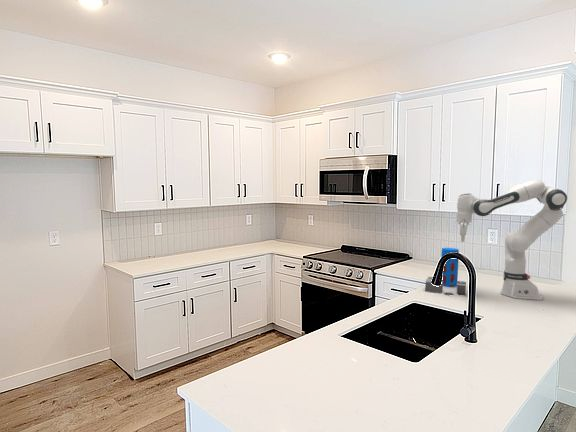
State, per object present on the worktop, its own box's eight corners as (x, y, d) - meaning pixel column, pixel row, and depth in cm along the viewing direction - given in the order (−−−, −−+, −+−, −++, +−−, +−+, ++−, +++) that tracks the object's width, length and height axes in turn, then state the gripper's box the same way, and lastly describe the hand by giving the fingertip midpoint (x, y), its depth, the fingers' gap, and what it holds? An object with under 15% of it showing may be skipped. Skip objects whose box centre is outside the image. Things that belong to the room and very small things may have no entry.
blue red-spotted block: (459, 287, 262) (461, 250, 260) (443, 287, 263) (445, 250, 261) (453, 283, 273) (454, 247, 271) (437, 283, 273) (439, 247, 271)
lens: (465, 294, 246) (466, 281, 245) (465, 296, 241) (466, 283, 241) (456, 293, 248) (457, 280, 247) (456, 295, 243) (457, 282, 243)
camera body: (442, 289, 255) (443, 277, 254) (441, 293, 247) (442, 280, 246) (426, 288, 259) (426, 276, 259) (425, 291, 251) (425, 278, 250)
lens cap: (453, 294, 246) (453, 293, 246) (453, 296, 241) (453, 295, 241) (444, 293, 248) (444, 292, 248) (443, 295, 243) (443, 294, 243)
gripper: (469, 220, 237) (468, 243, 238) (469, 218, 256) (468, 239, 257) (458, 220, 240) (456, 242, 241) (459, 217, 258) (457, 238, 259)
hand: (462, 240), depth 249 cm, fingers open, 8 cm apart
